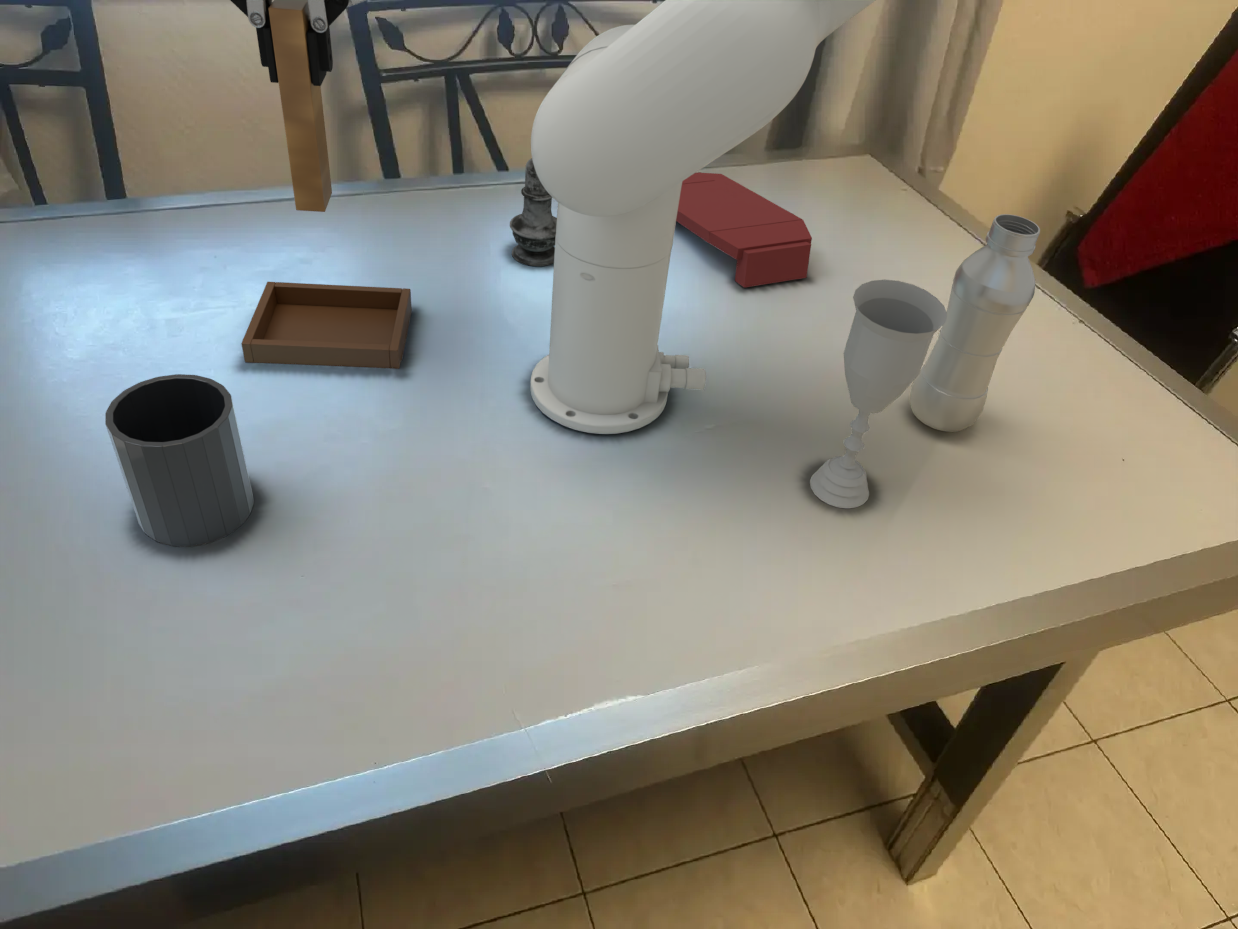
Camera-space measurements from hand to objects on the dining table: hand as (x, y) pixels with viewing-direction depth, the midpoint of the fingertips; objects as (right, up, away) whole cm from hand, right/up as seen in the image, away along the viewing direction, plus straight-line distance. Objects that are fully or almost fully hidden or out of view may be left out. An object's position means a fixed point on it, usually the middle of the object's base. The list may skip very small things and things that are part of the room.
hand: (299, 76), depth 74 cm
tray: (-2, -18, +16) cm, 24 cm away
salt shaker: (+16, -7, +32) cm, 36 cm away
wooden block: (-1, -8, +7) cm, 11 cm away
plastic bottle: (+55, -26, +15) cm, 63 cm away
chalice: (+44, -32, +7) cm, 55 cm away
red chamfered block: (+37, -3, +40) cm, 55 cm away
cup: (-7, -34, -3) cm, 35 cm away
